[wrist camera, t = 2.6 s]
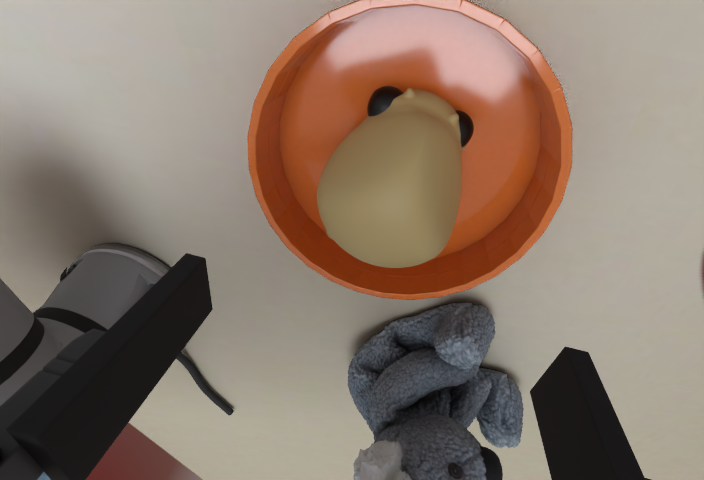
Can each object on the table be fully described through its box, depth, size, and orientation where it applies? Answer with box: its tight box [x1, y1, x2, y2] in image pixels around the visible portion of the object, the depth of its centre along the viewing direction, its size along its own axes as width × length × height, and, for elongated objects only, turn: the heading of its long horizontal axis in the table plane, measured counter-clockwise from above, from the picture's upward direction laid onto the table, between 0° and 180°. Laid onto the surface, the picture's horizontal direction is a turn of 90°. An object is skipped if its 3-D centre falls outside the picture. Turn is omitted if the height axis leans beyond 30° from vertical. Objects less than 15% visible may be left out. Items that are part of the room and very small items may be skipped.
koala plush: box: [348, 302, 524, 480], centre depth 32 cm, size 17×18×20 cm
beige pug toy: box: [317, 86, 474, 268], centre depth 23 cm, size 10×12×11 cm
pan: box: [248, 0, 572, 300], centre depth 25 cm, size 21×21×5 cm
